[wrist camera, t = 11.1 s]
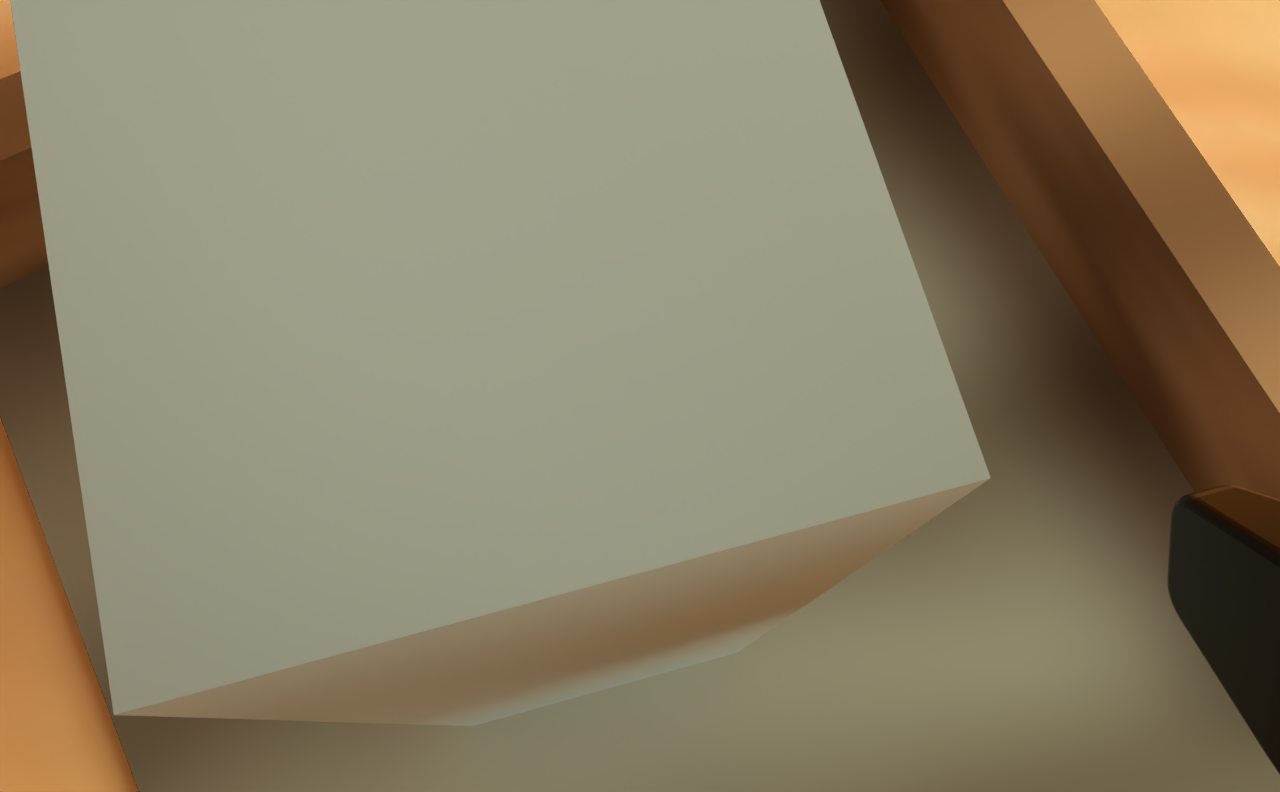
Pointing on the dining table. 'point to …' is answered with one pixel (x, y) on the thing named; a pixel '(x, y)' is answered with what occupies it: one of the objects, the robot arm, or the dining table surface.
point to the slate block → (471, 343)
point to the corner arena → (936, 551)
